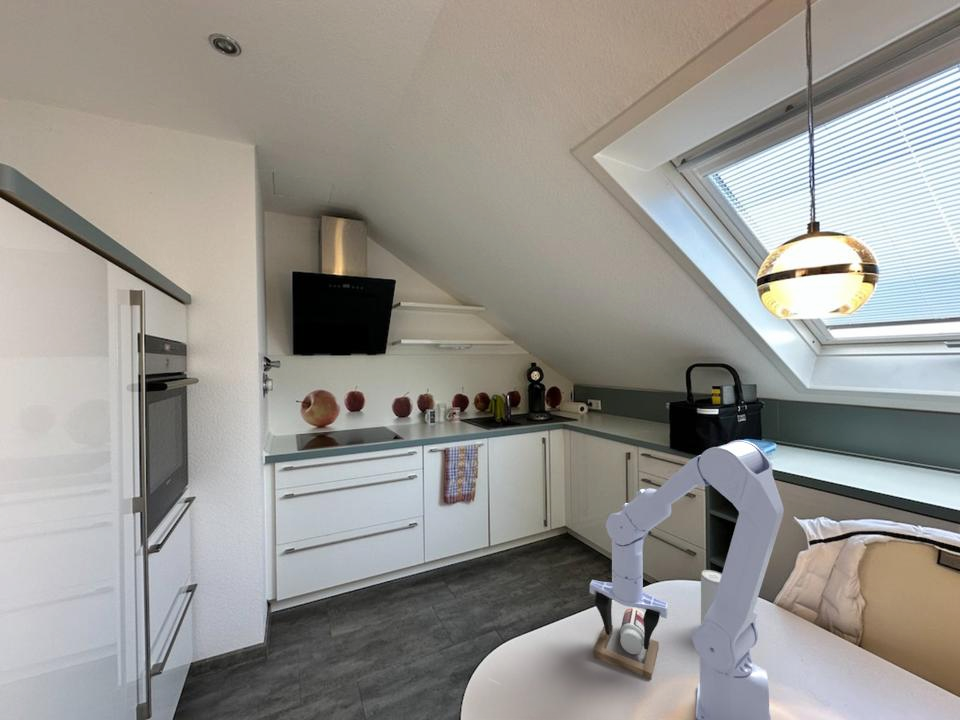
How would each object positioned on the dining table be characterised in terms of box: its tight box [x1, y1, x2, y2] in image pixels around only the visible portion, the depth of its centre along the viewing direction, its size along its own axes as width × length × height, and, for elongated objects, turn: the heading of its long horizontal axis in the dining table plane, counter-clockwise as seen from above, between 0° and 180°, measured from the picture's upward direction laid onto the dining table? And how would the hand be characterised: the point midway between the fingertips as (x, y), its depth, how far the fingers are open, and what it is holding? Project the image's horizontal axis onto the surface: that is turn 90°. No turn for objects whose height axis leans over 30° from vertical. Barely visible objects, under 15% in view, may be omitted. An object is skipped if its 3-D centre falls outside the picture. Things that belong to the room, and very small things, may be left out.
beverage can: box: [700, 569, 722, 625], centre depth 82 cm, size 5×5×12 cm
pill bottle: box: [619, 607, 645, 655], centre depth 79 cm, size 5×5×8 cm
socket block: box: [592, 624, 660, 680], centre depth 76 cm, size 10×9×2 cm
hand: (627, 638), depth 76 cm, fingers open, 7 cm apart
